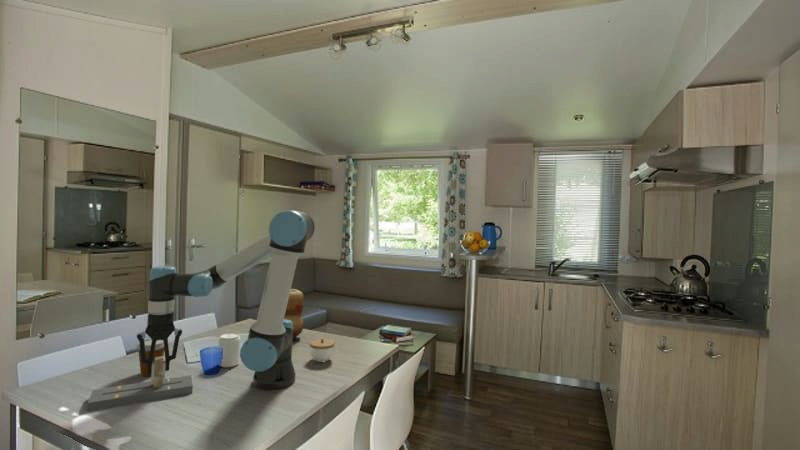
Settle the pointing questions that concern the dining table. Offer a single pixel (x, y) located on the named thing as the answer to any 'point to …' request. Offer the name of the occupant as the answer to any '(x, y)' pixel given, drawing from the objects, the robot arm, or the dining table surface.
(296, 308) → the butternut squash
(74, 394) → the dining table surface
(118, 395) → the fader console
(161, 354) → the disposable coffee cup
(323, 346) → the lidded jar
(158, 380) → the beige tall block
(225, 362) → the white lidded canister
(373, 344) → the dining table surface
